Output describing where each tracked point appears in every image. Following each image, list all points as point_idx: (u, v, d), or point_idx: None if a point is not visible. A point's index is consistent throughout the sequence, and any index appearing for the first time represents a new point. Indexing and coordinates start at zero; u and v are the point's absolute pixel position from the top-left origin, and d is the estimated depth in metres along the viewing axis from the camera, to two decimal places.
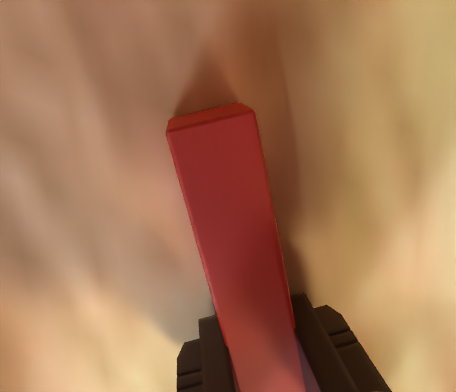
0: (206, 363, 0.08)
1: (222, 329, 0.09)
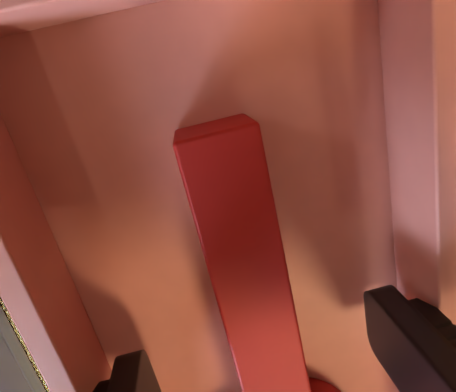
0: None
1: (227, 335, 0.09)
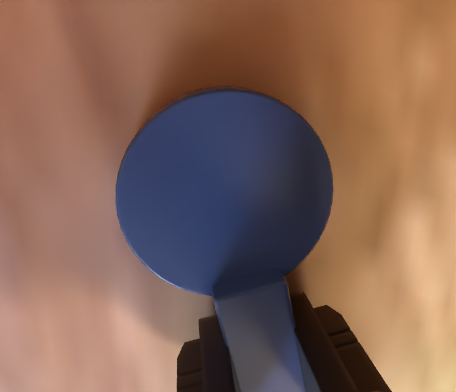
0: (206, 363, 0.08)
1: None
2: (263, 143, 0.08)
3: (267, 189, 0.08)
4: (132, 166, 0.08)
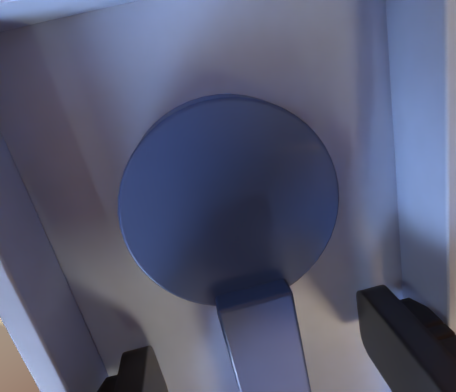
0: None
1: None
2: (267, 152, 0.08)
3: (272, 198, 0.08)
4: (134, 176, 0.07)
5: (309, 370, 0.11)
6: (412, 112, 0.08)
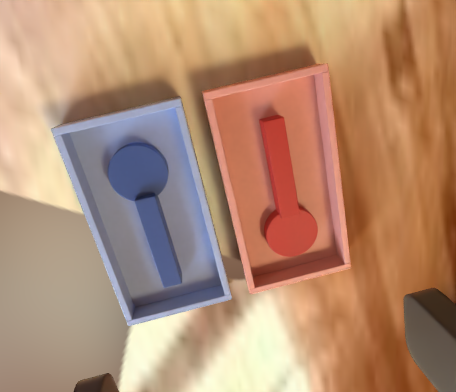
0: None
1: (273, 177, 0.31)
2: (146, 158, 0.30)
3: (148, 170, 0.30)
4: (111, 164, 0.30)
5: (173, 231, 0.34)
6: None
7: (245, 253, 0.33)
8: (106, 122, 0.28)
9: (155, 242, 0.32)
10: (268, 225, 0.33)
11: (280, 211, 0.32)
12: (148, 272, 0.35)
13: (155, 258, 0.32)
